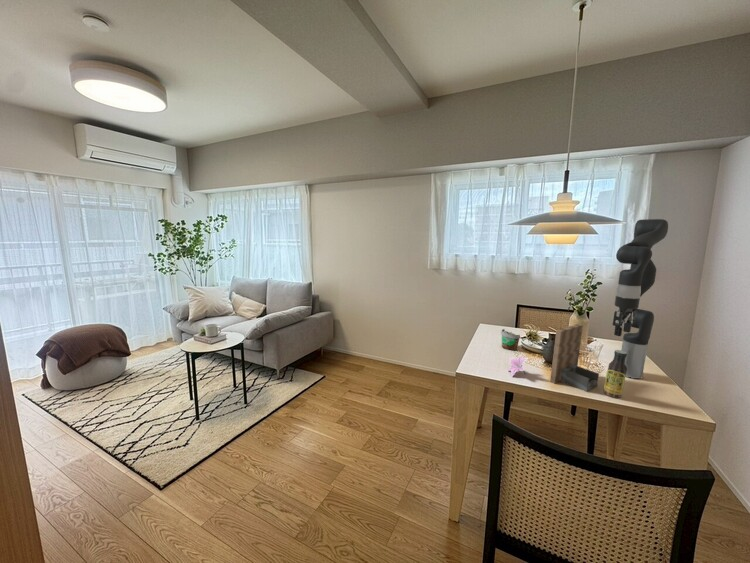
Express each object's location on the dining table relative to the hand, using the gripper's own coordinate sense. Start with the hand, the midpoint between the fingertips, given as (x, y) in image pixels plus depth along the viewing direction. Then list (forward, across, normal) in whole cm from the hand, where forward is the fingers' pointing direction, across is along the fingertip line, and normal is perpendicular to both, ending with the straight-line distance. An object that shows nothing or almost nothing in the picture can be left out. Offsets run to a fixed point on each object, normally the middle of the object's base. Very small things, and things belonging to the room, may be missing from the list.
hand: (622, 333), depth 124 cm
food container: (+28, -6, -56) cm, 63 cm away
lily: (+27, +19, -33) cm, 47 cm away
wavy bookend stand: (+27, +3, -14) cm, 31 cm away
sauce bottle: (+28, 0, 0) cm, 28 cm away
